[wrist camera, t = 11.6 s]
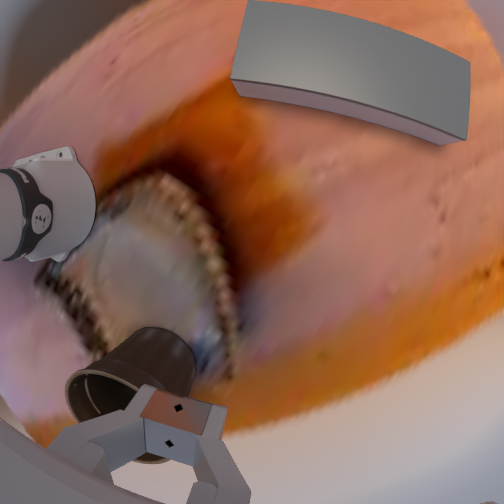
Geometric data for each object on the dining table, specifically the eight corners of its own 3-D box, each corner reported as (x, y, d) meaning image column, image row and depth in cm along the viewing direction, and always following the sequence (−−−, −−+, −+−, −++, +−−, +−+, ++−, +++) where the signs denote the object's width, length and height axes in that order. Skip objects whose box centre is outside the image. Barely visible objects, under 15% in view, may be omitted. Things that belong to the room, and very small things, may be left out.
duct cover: (231, 80, 29) (230, 78, 29) (249, 3, 26) (248, 0, 26) (463, 140, 28) (466, 140, 27) (467, 63, 25) (470, 62, 24)
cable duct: (239, 95, 36) (232, 81, 30) (254, 28, 33) (249, 6, 27) (440, 145, 34) (461, 141, 28) (444, 77, 31) (464, 65, 25)
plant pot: (182, 412, 48) (152, 478, 32) (107, 362, 47) (57, 414, 31) (228, 354, 44) (202, 428, 28) (138, 294, 43) (76, 344, 28)
